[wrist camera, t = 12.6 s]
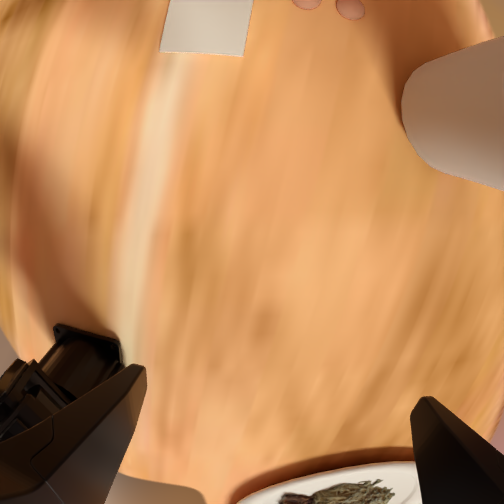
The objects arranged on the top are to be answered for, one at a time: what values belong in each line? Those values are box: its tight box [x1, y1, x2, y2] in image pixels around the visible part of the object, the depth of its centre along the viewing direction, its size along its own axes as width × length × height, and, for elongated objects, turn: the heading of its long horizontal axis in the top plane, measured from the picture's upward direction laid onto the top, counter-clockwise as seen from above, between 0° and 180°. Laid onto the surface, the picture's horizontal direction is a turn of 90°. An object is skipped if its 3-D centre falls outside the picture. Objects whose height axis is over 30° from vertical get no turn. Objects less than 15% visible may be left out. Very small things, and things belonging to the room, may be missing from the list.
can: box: [401, 36, 504, 191], centre depth 11 cm, size 8×8×12 cm
